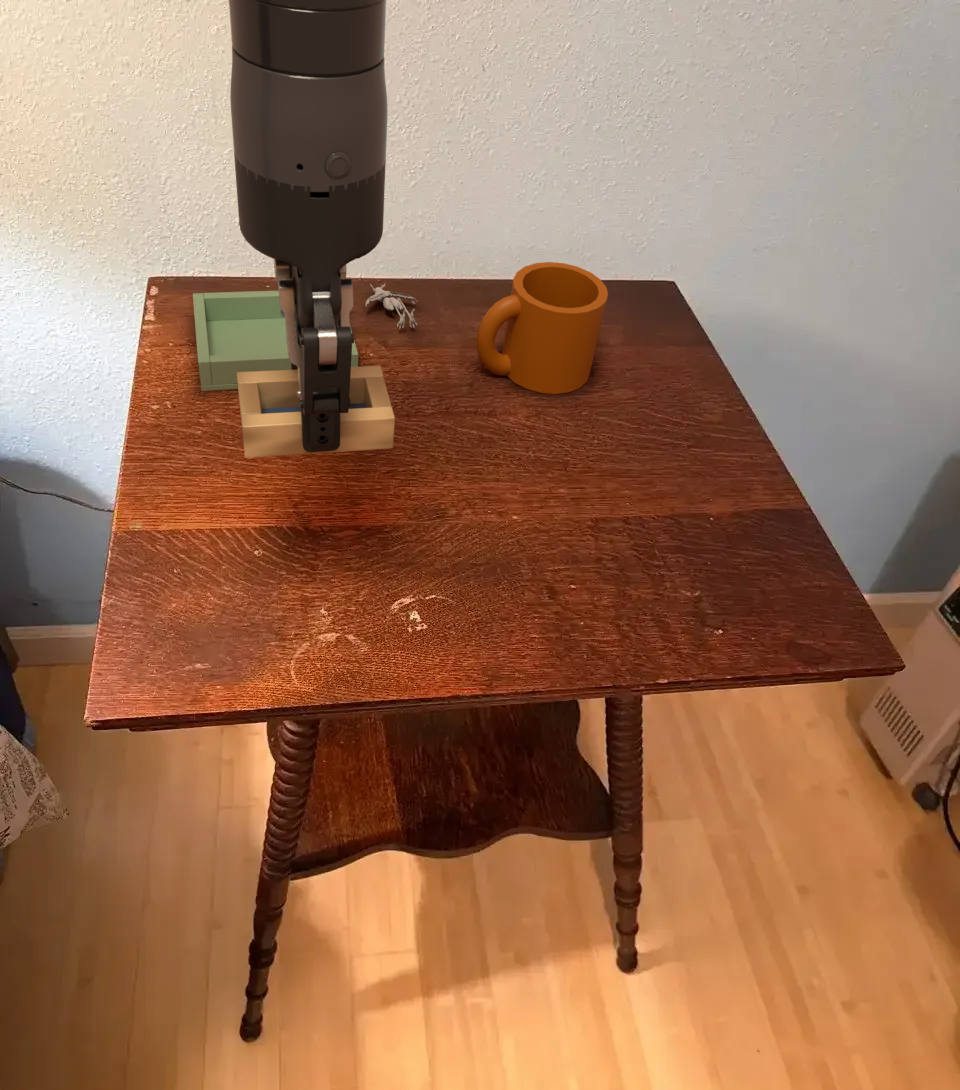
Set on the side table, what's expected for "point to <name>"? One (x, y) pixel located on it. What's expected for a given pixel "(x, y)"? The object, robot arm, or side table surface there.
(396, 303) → the figurine
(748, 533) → the side table surface
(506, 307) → the mug
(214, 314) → the holder
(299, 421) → the frame
